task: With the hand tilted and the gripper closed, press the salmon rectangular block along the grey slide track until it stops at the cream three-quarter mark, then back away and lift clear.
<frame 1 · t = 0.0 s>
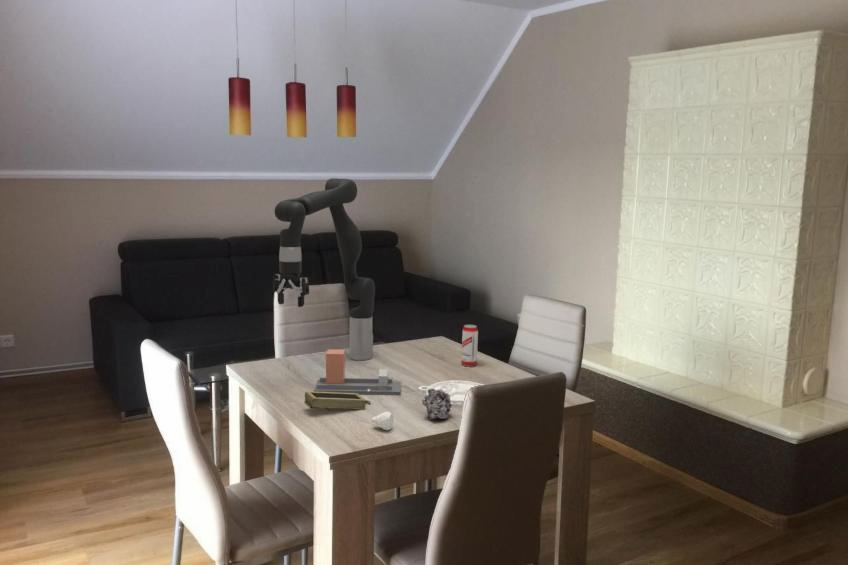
hand: (290, 305, 252), 29 cm above the table, tool pointing down, fingers open, 8 cm apart
beer can: (468, 365, 290), on the table
grey slide track: (358, 389, 256), on the table
medallion: (454, 396, 252), on the table
salmon rectangular block: (335, 368, 254), point 7 cm above the table, slide at 0.0 cm
white seashell: (381, 429, 219), on the table
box: (339, 409, 235), on the table
mineral specimen: (436, 416, 231), on the table
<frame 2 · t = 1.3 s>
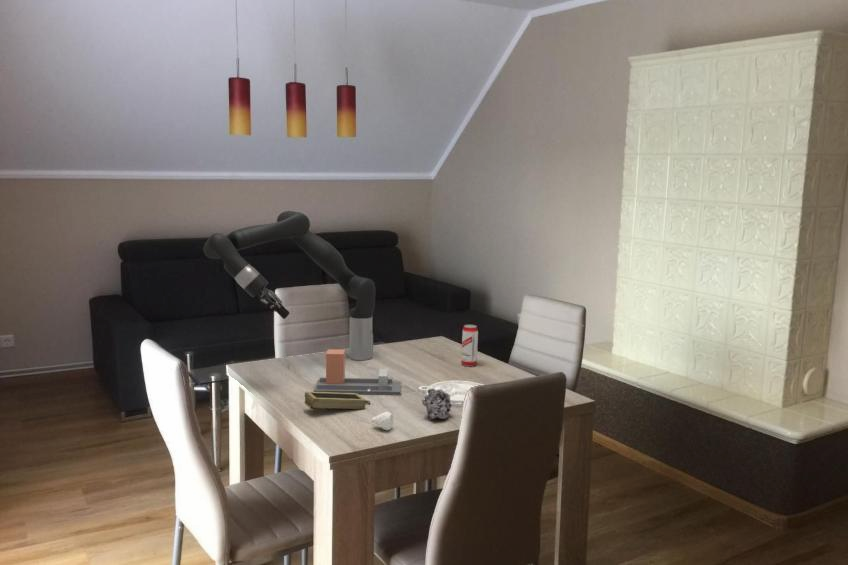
hand: (286, 316, 250), 26 cm above the table, tool tilted 45°, fingers closed
nothing on the table moved.
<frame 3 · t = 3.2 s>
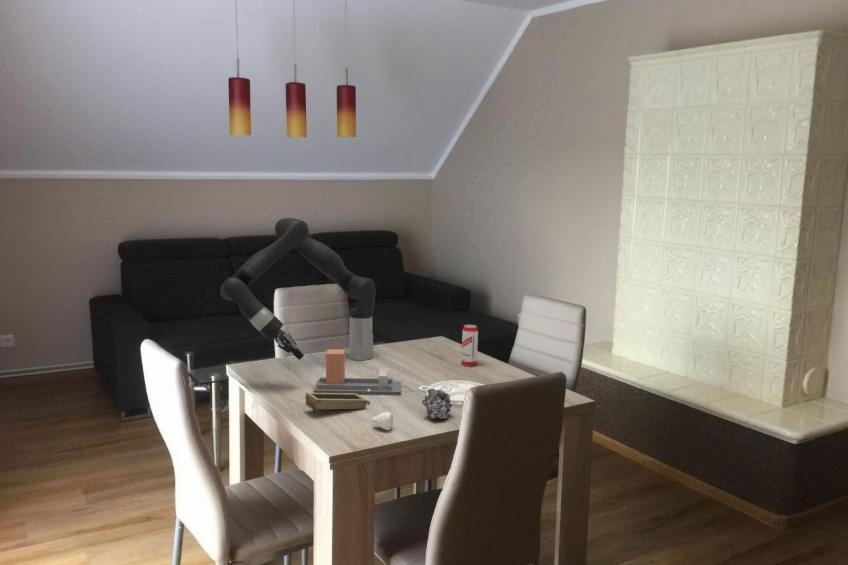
hand: (301, 357, 253), 11 cm above the table, tool tilted 45°, fingers closed
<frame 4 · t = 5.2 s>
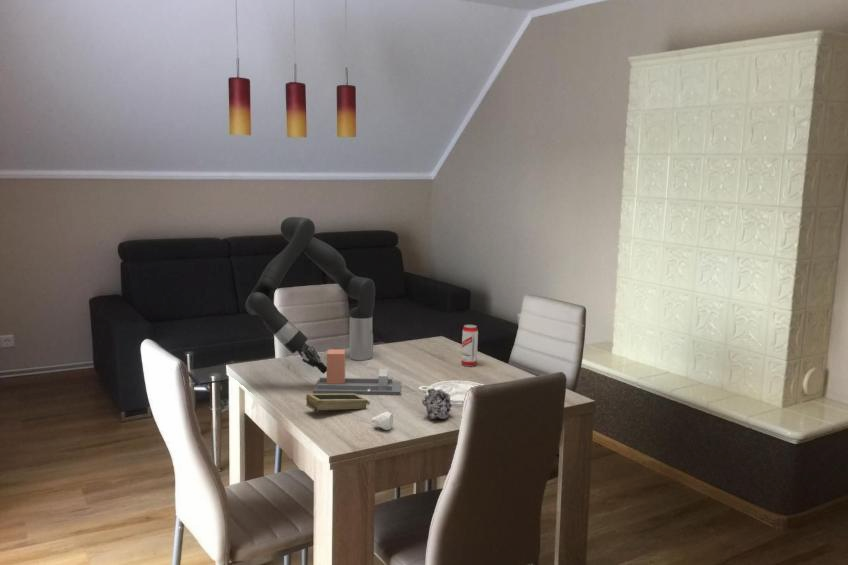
hand: (325, 371, 254), 6 cm above the table, tool tilted 45°, fingers closed
salmon rectangular block: (336, 368, 254), point 7 cm above the table, slide at 0.2 cm, touching gripper
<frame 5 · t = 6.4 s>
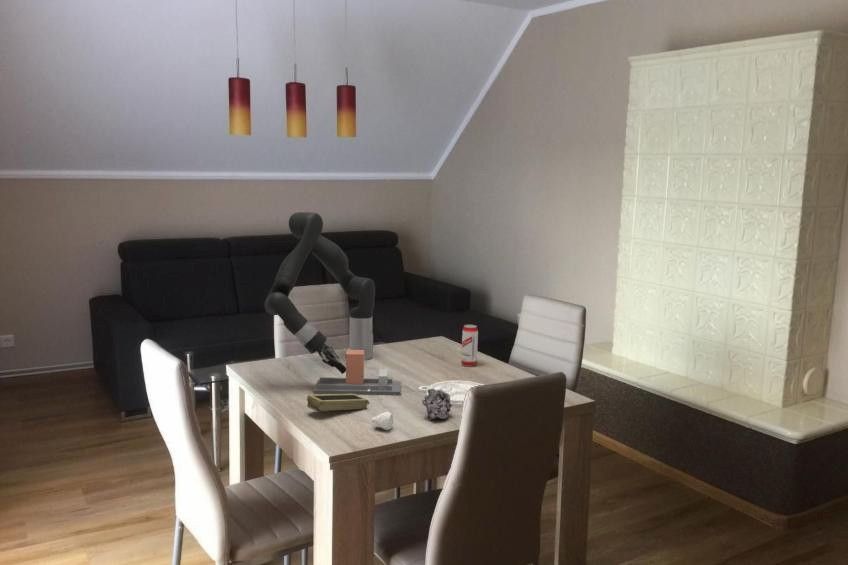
hand: (344, 371, 254), 6 cm above the table, tool tilted 45°, fingers closed
salmon rectangular block: (355, 368, 254), point 7 cm above the table, slide at 6.9 cm, touching gripper
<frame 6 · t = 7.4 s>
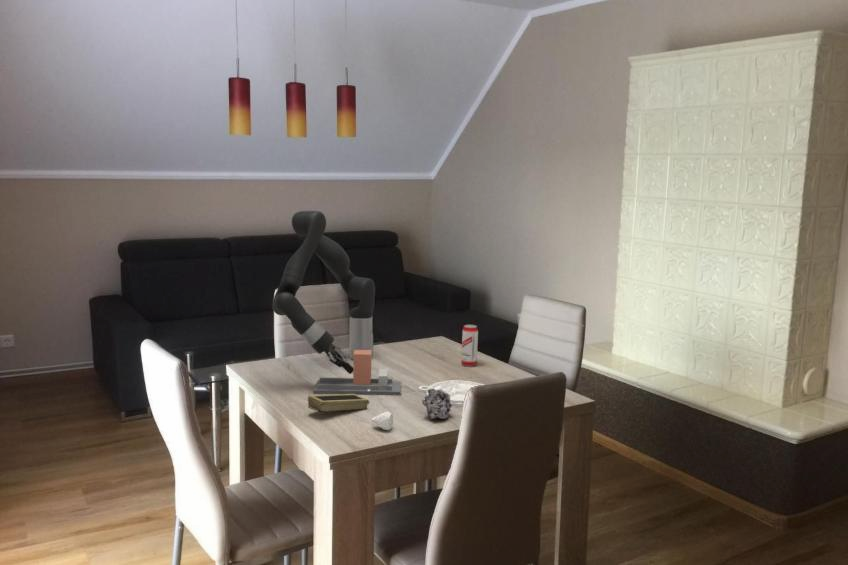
hand: (352, 371, 255), 6 cm above the table, tool tilted 45°, fingers closed
salmon rectangular block: (362, 368, 254), point 7 cm above the table, slide at 9.4 cm, touching gripper
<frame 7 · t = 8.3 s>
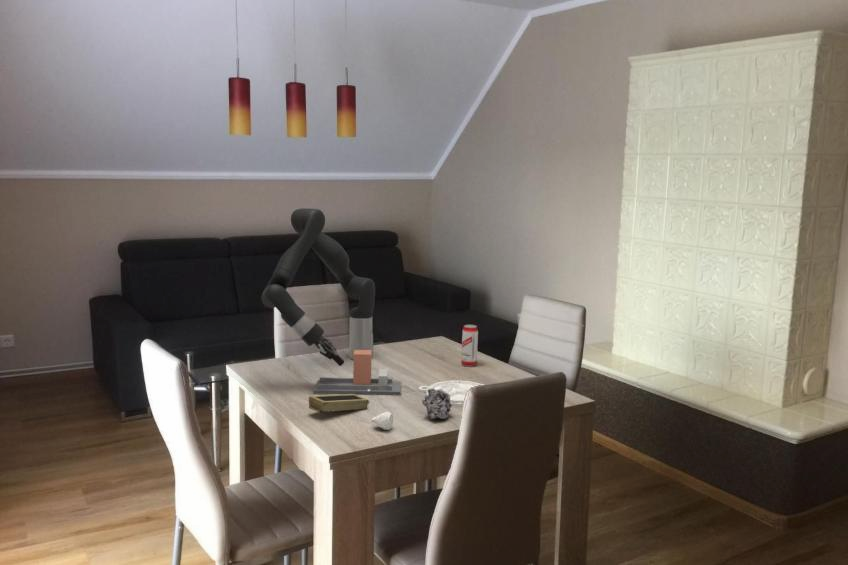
hand: (342, 363, 254), 9 cm above the table, tool tilted 45°, fingers closed
salmon rectangular block: (362, 368, 254), point 7 cm above the table, slide at 9.4 cm
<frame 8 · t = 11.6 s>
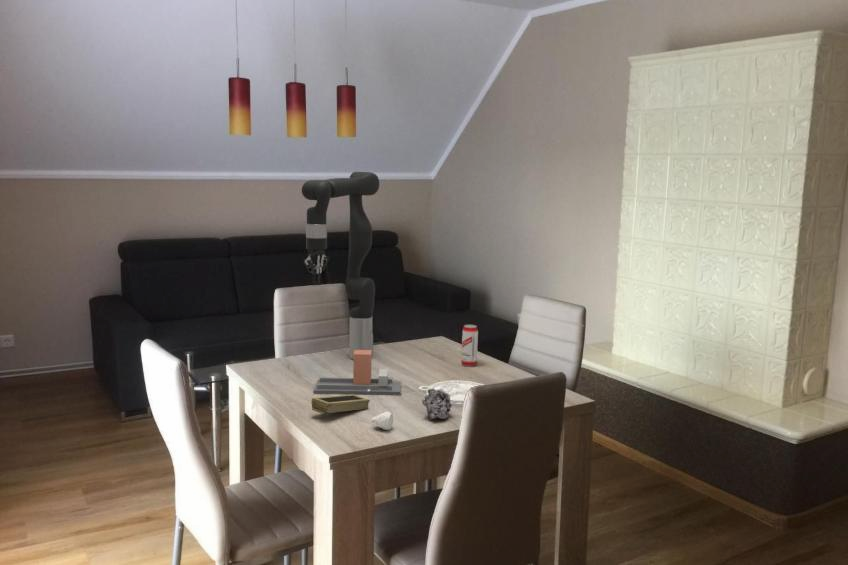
hand: (316, 283, 264), 35 cm above the table, tool pointing down, fingers closed
at the end: salmon rectangular block slide at 9.4 cm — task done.
